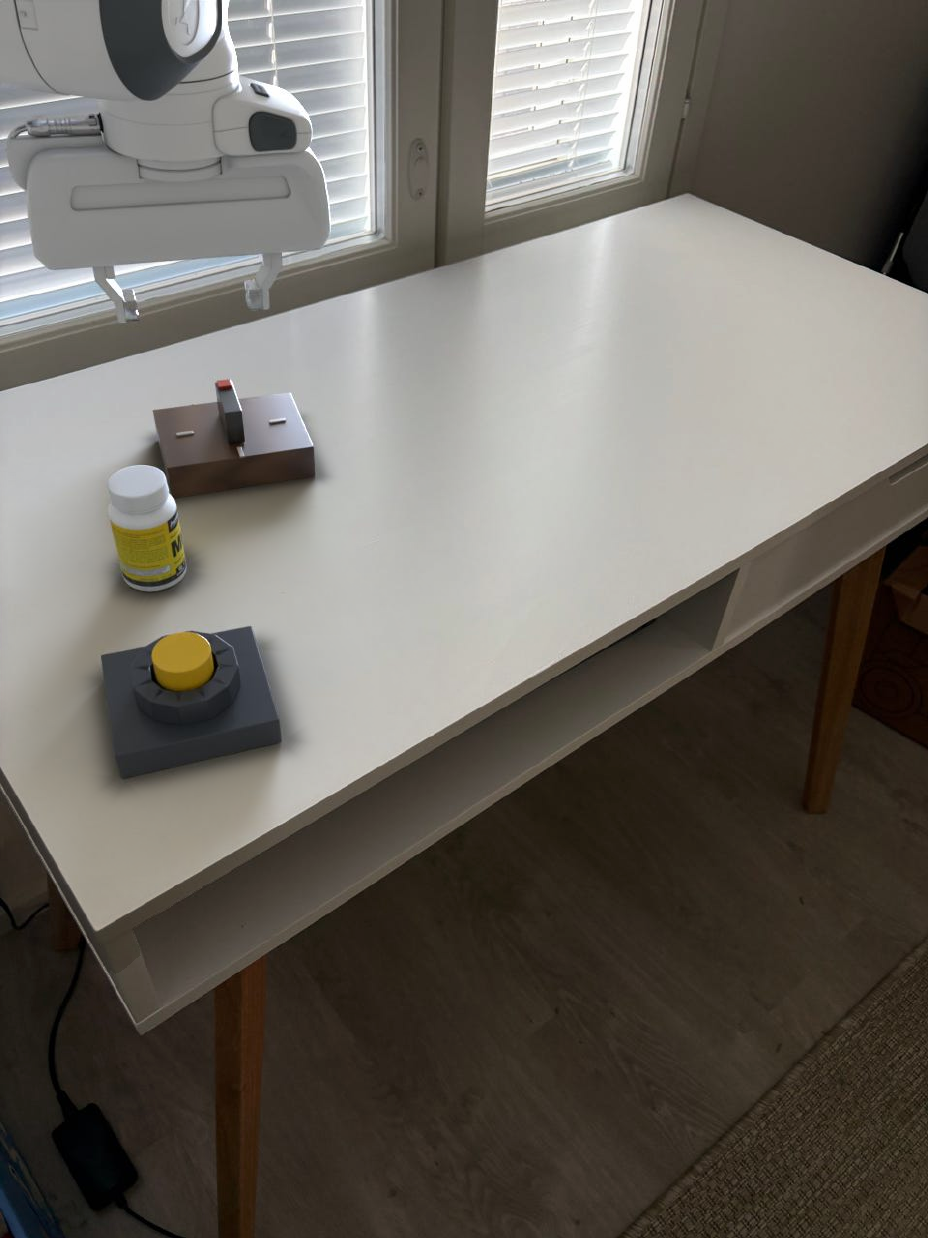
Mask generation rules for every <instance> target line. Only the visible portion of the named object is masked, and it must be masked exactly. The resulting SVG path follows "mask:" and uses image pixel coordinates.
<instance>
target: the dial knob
mask: <svg viewBox="0 0 928 1238" xmlns="http://www.w3.org/2000/svg"><path fill="white" fill-rule="evenodd" d="M214 386H215V395H216V402H217V403H218V411H219V415H220V418H221V421H222V425H223V428H224V431H225V434H226V437H227V440H228V443H229V444H233V443H241V442H245V433H244V424H243V415H242V410H241V407H240V404H239V401H238V399H239V398H238V396H237V392H236V389H235V386H234V384H233V381H232V380H231V379H230V378H228V379H220V380H216V382H215V383H214Z"/></svg>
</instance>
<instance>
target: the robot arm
mask: <svg viewBox="0 0 928 1238" xmlns="http://www.w3.org/2000/svg"><path fill="white" fill-rule="evenodd" d="M229 2H230V0H0V87H2V88H10V89H16V90H24V91H30V92H31V91H32V92H37V93H46V94H53V95H62V96H69V97H70V96H74V97H83V98H89V99H97V105H98V110H99V112H98V113H96V114H94V113H90V114H74V115H73V114H71V115H66V116H60V117H59V116H58V117H47V116H43V115H39V116H38V115H36V116H30V117H27V118H25V120H24V121H25V123H23V124H20V125H17V126H16V127H14V128H13V129H12V130H11V131H10V132H9V134H8V135H7V137H6V140H5V146H4V148H5V149H4V150H5V154H6V158H7V159H6V160H7V164H8V167H9V172H10V175H11V177H12V179H13V181H14V182H15V183H16V184H17V186H18V187H19V188H20V189H22V190H23V191H25V201H26V210H27V212H26V213H27V220H28V229H29V234H30V235H29V236H30V241H31V245H32V251H33V256H34V258H35V259H36V260H37V261H39V263H41V264H42V265H43V266H44V267H45V268H46V269H48V270H50V271H61V270H62V271H63V270H74V269H76V270H77V269H86V268H87V269H88V268H91V269H92V274H93V279H94V282H95V283H96V284H97V286H98V287H99V288H100V289H101V290H102V291H103V292H104V294H105V295H106V296H107V297H108V298H109V299H110V300H111V301H112V302H113V304H114V308H115V313H116V318H117V322H118V324H124V323H125V324H126V323H135V322H140V316H139V315H140V314H139V312H138V309H139V307H138V302H137V298H136V295H135V291H134V289H122V288H121V287H120V286H119V284H117V282H116V280H115V279H116V274H115V267H116V266H123V265H124V266H127V265H139V264H140V265H141V264H151V263H152V264H153V263H165V262H166V263H167V262H178V261H179V262H181V261H190V260H193V261H194V260H204V259H217V258H218V259H219V258H230V257H231V258H232V257H243V256H245V257H246V256H255V255H257V256H258V258H259V259H260V262H261V265H260V267H259V269H258V271H257V273H256V275H255V277H254V278H252V279H243V281H244V290H245V302H246V306H247V307H248V310H249V312H251V311H252V312H253V311H254V312H255V311H263V310H264V311H265V310H269V309H270V307H271V306H270V304H271V303H270V289H271V288H272V286H273V284H274V282H275V281H276V279H277V277H278V276H279V273H280V272H281V269H282V267H283V254H284V253H294V252H297V253H298V252H309V251H310V252H311V251H319V250H321V249H322V248H323V247H324V246H325V244H326V243H327V241H328V240H329V239H330V237H331V232H332V231H331V229H332V228H331V212H330V202H329V201H330V200H329V194H328V189H327V188H328V187H327V183H326V178H325V177H326V176H325V174H324V170H323V168H322V164H321V162H320V161H319V160H318V158H317V156H316V155H315V154H314V151H312V149H311V145H312V142H313V127H312V122H311V120H310V117H309V115H308V113H307V111H306V110H305V109H304V107H303V106H302V105H301V103H300V102H299V100H297V99H296V98H295V97H294V96H293V95H292V94H291V93H289V91H287V90H286V89H283V88H281V87H278V86H275V85H271V84H268V83H265V82H262V81H258V80H255V79H252V78H249V77H247V76H243V75H239V74H238V60H237V55H236V50H235V47H234V44H233V41H232V38H231V35H230V30H229V24H228V22H229V21H228V10H229V9H228V8H229ZM25 132H27V134H23V133H25Z"/></svg>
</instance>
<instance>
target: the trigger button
mask: <svg viewBox="0 0 928 1238" xmlns="http://www.w3.org/2000/svg"><path fill="white" fill-rule="evenodd" d="M170 634H171V635H170ZM170 634H168V635H169V636H166V637H165V638H163V639H161V640H160V641H159V642H158V643H157V644H156V645H155V647H154V648H153V650H152V655H151V657H152V662H153V667H154V671H155V676H156V679H157V681H158V682H159V684H160V685H161V686H163V687H164V688H166V689H168V690H171V691H177V692H183V691H188V690H192V689H197V688H199V687H201V686H202V685H204V684H205V683H206V682H207V681H208V680H209V679H210V678H211V676H212V674H213V671H214V665H213V659H212V653H211V647H210V644H209V642H208V641H207V640H206V639H205V638H204V637H202V636H201V635H198V634H195V633H190V632H186V631H181V632H176V633H170Z"/></svg>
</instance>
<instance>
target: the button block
mask: <svg viewBox="0 0 928 1238" xmlns="http://www.w3.org/2000/svg"><path fill="white" fill-rule="evenodd" d="M185 632H190V633H195V634H198V635H201V636H202V637H204V638H205V639H206V640H207V641H208V642H209V644H210V647H211V653H212V659H213V665H214V671H213V674H212V676H211V678H210V679H209V680H208V681H207V682H206V683H205V684H204V685H202V686H201V687H199V688H197V689H192V690H188V691H183V692H177V691H171V690H168V689H166V688H164V687H163V686H161V685H160V684H159V682H158V681H157V679H156V676H155V671H154V667H153V662H152V657H151V655H152V650H153V648H154V647H155V645H156V644H157V643H158V642H159V641H160V640H161V639H163V638H165V637H166V636H169V635H171V634H172V633H170V634H164V635H161V636H160V637H159V638H157V639H155V640H154V641H152V642H150V643H148V644H147V645H145V646H144V645H143V646H139V647H134V648H129V649H123V650H119V651H115V652H109V653H104V654H100V662H101V669H102V676H103V683H104V690H105V697H106V704H107V712H108V719H109V726H110V733H111V734H110V735H111V740H112V747H113V754H114V759H115V764H116V766H117V770H118V774H119V776H120V779H126V778H130V777H131V778H132V777H135V776H140V775H144V774H148V773H153V772H157V771H161V770H166V769H170V768H174V767H179V766H184V765H187V764H192V763H197V762H201V761H205V760H210V759H214V758H218V757H222V756H223V757H224V756H226V755H227V756H228V755H231V754H235V753H239V752H244V751H245V752H246V751H249V750H252V749H258V748H262V747H266V746H270V745H275V744H279V743H282V741H283V739H282V728H281V719H280V716H279V712H278V709H277V706H276V702H275V700H274V695H273V692H272V689H271V686H270V682H269V679H268V675H267V672H266V668H265V665H264V662H263V658H262V655H261V652H260V649H259V645H258V641H257V638H256V635H255V632H254V629H253V626H252V625H248V626H243V627H242V626H241V627H237V628H232V629H227V630H223V631H216V632H212V633H208V632H202V631H196V630H186V631H185Z"/></svg>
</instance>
